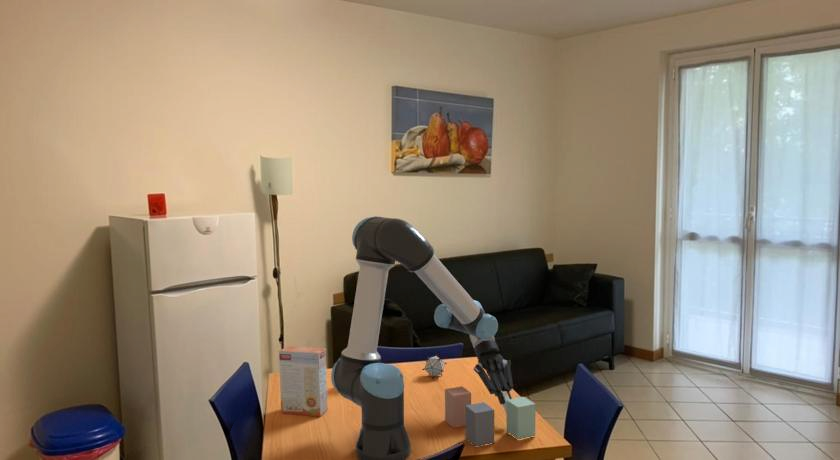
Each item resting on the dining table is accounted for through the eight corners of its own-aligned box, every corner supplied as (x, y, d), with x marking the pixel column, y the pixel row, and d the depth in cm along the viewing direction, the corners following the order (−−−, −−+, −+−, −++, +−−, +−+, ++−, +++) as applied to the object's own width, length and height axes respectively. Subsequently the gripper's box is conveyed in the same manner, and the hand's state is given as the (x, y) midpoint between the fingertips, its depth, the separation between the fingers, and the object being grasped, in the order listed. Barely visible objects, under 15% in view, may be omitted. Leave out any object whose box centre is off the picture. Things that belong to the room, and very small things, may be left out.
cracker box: (328, 410, 187) (326, 347, 185) (320, 417, 182) (318, 353, 180) (289, 406, 191) (287, 344, 189) (280, 413, 185) (278, 350, 183)
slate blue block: (494, 443, 163) (494, 409, 162) (475, 447, 160) (475, 413, 159) (483, 435, 168) (483, 402, 167) (465, 438, 166) (465, 405, 165)
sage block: (535, 437, 166) (535, 403, 166) (517, 441, 164) (517, 407, 163) (523, 428, 172) (523, 396, 171) (506, 432, 170) (506, 399, 169)
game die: (430, 387, 217) (414, 368, 215) (436, 372, 225) (420, 353, 223) (449, 379, 213) (433, 359, 211) (454, 364, 220) (438, 345, 218)
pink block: (471, 424, 175) (471, 392, 175) (453, 427, 173) (453, 395, 172) (462, 417, 181) (462, 386, 180) (445, 420, 179) (444, 389, 178)
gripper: (497, 348, 192) (524, 415, 179) (463, 352, 188) (487, 421, 174) (506, 336, 187) (533, 404, 173) (470, 341, 182) (496, 411, 168)
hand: (510, 413), depth 173 cm, fingers closed
